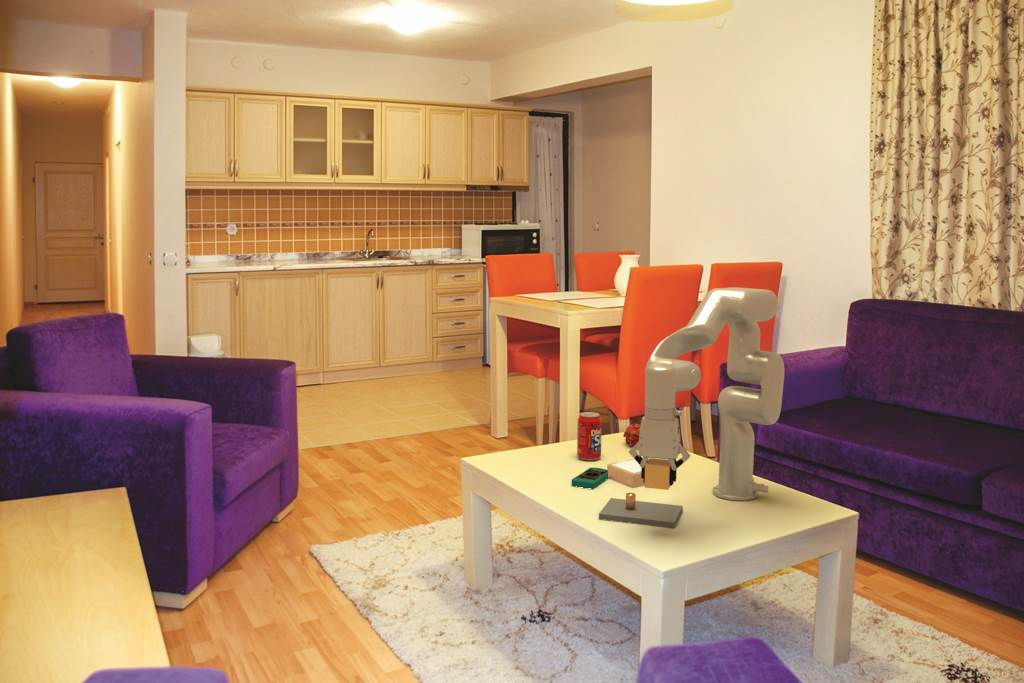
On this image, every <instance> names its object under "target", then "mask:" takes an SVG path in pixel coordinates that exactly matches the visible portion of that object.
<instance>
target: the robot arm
mask: <svg viewBox="0 0 1024 683" xmlns="http://www.w3.org/2000/svg"><path fill="white" fill-rule="evenodd" d="M778 309H779V300H778V297H777V295H776V294H775V293H774V291H772V290H769V289H764V288H762V289H761V288H748V287H736V286H735V287H734V286H731V287H717V288H716V287H715V288H712V289H710V290H708V291H707V293H706V294H705V295H704V297H703V299H702V300H701V302H700V303H699V305H698V306H697V309H696V310H695V311H694V313H693V315H692V316H691V318H690V320H689V322H688V323H687V325H685V326H684V327H682V328H680V329H678V330H676V331H675V332H674V331H673V333H672V334H670V335H668V336H667V337H665V338H664V339H662V340H661V341H660V342H659V343H658V344H657V345H656V347H655V348H654V350H653V351H652V353H651V355H650V357H649V358H648V361H647V362H646V365H645V369H644V376H645V386H644V389H645V390H644V391H645V392H644V416H642V419H641V423H640V425H641V427H640V435H639V442H638V443H637V444H636V445H635V446H632V447H631V448H630V449H629V450H628V454H629V455H630V456H631V457H632V458H634V460H635V461H636V462H637V463H638V465H639V467H640V468H641V472H640V473H641V476H640V477H641V478H640V479H643V480H642V481H643V483H644V484H645V464H646V462H647V461H648V459H649V458H655V459H666V460H669V463H670V465H671V470H670V485H671V486H673V485H674V482H676V481H677V470H678V468H679V467H681V466H682V465H683V464H684V463H686V461H688V460H689V459H690V457H691V454H690V453H689V452H688V451H687V450H686V449H685V448H684V446H683V445H682V444H681V442H682V441H681V429H680V428H681V427H680V422H679V418H678V416H681V415H682V410H678V408H677V407H676V397H677V396H676V392H681V391H682V392H684V391H685V392H686V391H691V390H694V388H696V387H697V386H698V385H699V383H700V381H701V378H702V372H701V369H700V367H699V365H697V364H696V363H694V362H693V361H688V360H682V359H676V358H677V357H679V356H681V355H684V354H686V353H691V352H695V351H699V350H702V349H706V348H708V347H711V346H713V345H714V344H715V343H716V342H717V340H718V338H719V336H720V334H721V332H722V331H723V329H724V328H725V325H726V324H727V326H728V331H729V339H728V340H729V341H728V351H727V359H726V360H727V362H726V373H727V376H728V377H729V379H731V380H733V381H736V382H740V383H746V384H755V385H760V388H759V389H758V388H752V387H747V386H740V385H739V386H738V385H730V386H726V387H725V388H723V389H722V390H721V391H720V393H719V395H718V400H717V406H718V414H719V420H720V421H719V424H720V432H719V433H720V436H719V437H720V438H719V458H718V459H719V462H718V484H717V485H715V486H714V487H712V494H713V495H714V496H716V497H718V498H721V499H725V500H730V501H738V502H739V501H743V502H744V501H750V500H755V499H756V498H757V497H758V492H760V493H766V494H767V493H768V494H769V485H766V484H765V483H757V482H756V481H755V478H754V476H753V475H754V458H755V457H754V455H755V433H754V432H755V431H754V428H753V427H752V425H751V424H750V423H753V424H757V425H766V426H771V425H774V424H775V423H777V421H778V420H779V419H780V415H781V412H782V411H781V410H782V403H783V395H784V394H783V392H784V384H785V383H784V382H785V371H786V370H785V364H784V363H785V362H784V359H783V358H782V356H781V355H780V354H778V353H776V352H773V351H768V350H761V346H760V345H761V329H760V327H759V325H758V322H768V321H770V320H772V319H773V318H774V316H775V315H776V314H777V311H778ZM637 451H638V452H637ZM680 454H681V456H682V457H681V458H679V459H678V460H677V458H678V457H679V455H680ZM671 486H670V487H671Z"/></svg>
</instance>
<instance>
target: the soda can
mask: <svg viewBox="0 0 1024 683" xmlns="http://www.w3.org/2000/svg"><path fill="white" fill-rule="evenodd" d="M602 422H603V419H602V418H601V416H600V413H598V412H594V411H593V412H592V411H586V412H585V411H584V412H581V413H579V417H578V418H577V439H576V444H577V445H576V446H577V447H576V450H577V451H576V455H577V458H578V459H581V460H582V461H585V460H586V461H587V462H593V460H594V461H597V460H599V459H600V458H601V457H602V430H603V429H602V426H603V425H602V424H603V423H602Z"/></svg>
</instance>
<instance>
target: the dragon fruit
mask: <svg viewBox="0 0 1024 683" xmlns="http://www.w3.org/2000/svg"><path fill="white" fill-rule="evenodd" d="M640 427H641V424H639V423H631V424H630V425H629V426H627V427H626V428H625V431H624V432H623V438H625V440H624V441H625V444H626V445H627V446H629V445H631V446H632V447H633V446H635V445H636V444H637V443H638V442H639V435H640Z"/></svg>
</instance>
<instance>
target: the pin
mask: <svg viewBox="0 0 1024 683" xmlns="http://www.w3.org/2000/svg"><path fill="white" fill-rule="evenodd" d="M636 495H637V494H636V493H635V492H627V493H625V500H626V509H627V510H635V501H637V500H636V498H637V497H636Z"/></svg>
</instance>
